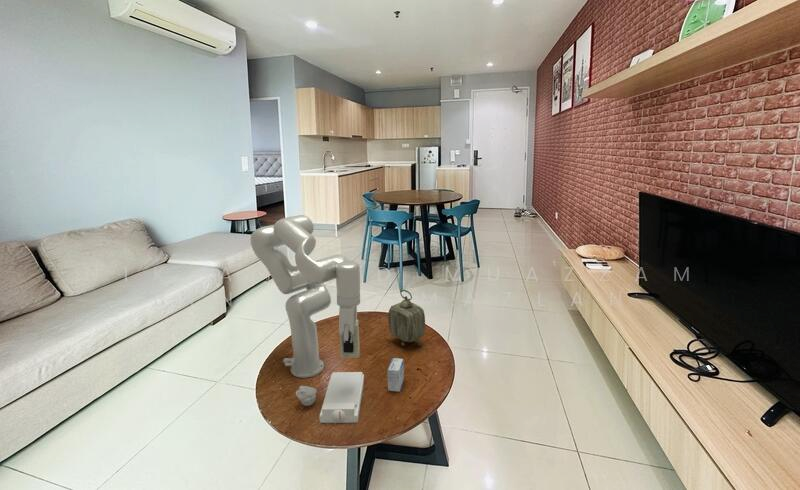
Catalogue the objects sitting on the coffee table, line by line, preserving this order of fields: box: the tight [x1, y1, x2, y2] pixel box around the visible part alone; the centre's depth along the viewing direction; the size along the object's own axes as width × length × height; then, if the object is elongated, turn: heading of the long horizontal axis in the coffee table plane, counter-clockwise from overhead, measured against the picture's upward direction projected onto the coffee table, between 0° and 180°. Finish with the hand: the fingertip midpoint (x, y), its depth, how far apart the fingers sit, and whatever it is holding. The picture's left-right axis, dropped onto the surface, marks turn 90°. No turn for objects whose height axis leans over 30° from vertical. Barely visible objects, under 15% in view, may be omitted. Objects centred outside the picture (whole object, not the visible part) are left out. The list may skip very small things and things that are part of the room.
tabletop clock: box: [388, 289, 426, 347], centre depth 164 cm, size 14×9×25 cm, turn 42°
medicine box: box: [387, 357, 405, 393], centre depth 138 cm, size 8×4×9 cm, turn 168°
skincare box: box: [339, 319, 361, 359], centre depth 129 cm, size 6×4×12 cm
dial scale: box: [319, 371, 365, 424], centre depth 131 cm, size 12×22×5 cm, turn 0°
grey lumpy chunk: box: [295, 385, 318, 407], centre depth 129 cm, size 6×7×7 cm
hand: (349, 347), depth 130 cm, fingers closed on skincare box, 4 cm apart
